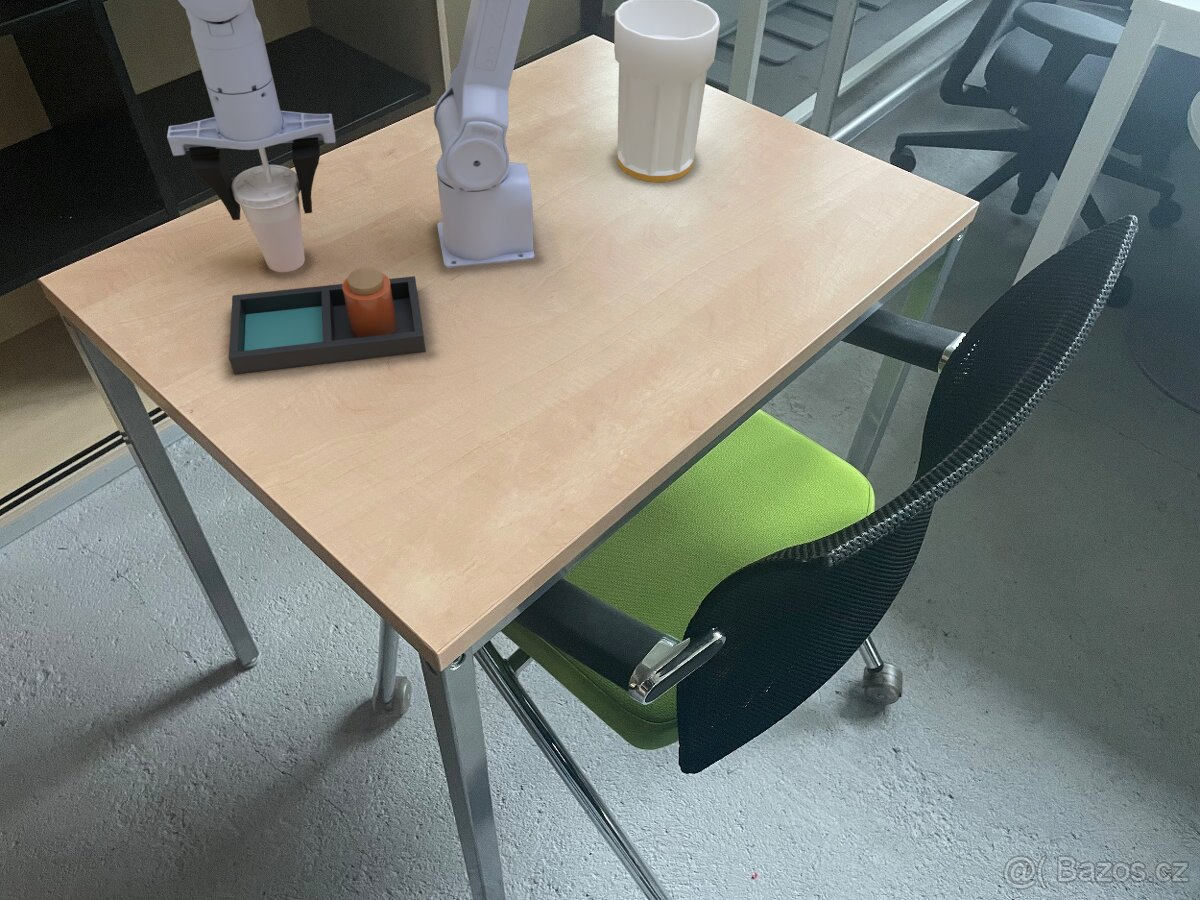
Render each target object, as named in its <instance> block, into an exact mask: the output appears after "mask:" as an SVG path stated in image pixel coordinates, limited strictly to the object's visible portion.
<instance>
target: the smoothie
mask: <svg viewBox="0 0 1200 900" xmlns="http://www.w3.org/2000/svg"><path fill="white" fill-rule="evenodd" d="M258 152H259V157H260V161H261V165H258V166H253V167H251V168H248V169H245V170H243V171H242V172H240V173H239V174H237V175H236V176H235V177H234V178H233V179H232V186H231V187H232V191H233V197H234V199H235V201H236V202H237V203H239V204H240V208H241V210H242V212H243V213H244V217H245V218H246V220H247V223H248V225H249V227H250V229H251V231H252V233H253V236H254V238H255V240H256V243H257V245H258V247H259V249H260V252H261V253H262V257H263V259H264V260H265V262H266V265H267V268H269V270H271V271H274V272H276V273H289V272H293V271H296V270H298V269H299V268H301V267H302V266H303V265H304V264H305V261H306V258H305V247H304V236H303V235H304V234H303V227H302V226H303V225H302V216H301V215H302V214H301V204H300V196H299V195H300V193H301V189H300V184H299V181H298V177H297V173H296V171H294V170H293V169H292V168H289V167H287V166H283V165H278V164H269V160H268V156H267V152H266V147H265V148H260V149H258Z"/></svg>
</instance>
